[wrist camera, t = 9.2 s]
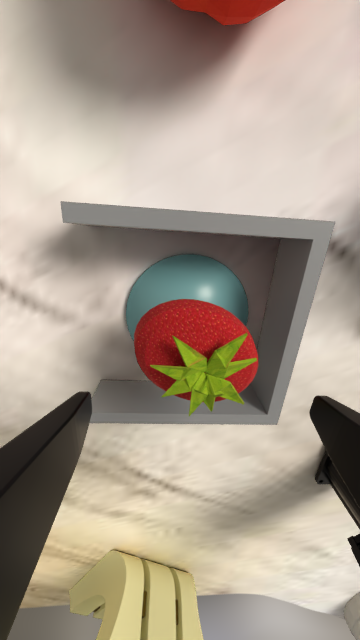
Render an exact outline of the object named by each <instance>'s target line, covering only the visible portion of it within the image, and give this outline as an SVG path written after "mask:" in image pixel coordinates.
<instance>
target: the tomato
mask: <svg viewBox="0 0 360 640" xmlns="http://www.w3.org/2000/svg"><path fill="white" fill-rule="evenodd" d="M170 1H171V2H173V3H174V4H175V5H177V6H178V7H179V8H181V9H183V10H190V11H197V12H205V13H206V14H208V15H209V16H211V17H212V18H214V19H215V20H216V21H218V22H219V23H221V24H222V25H232V24H244V23H248V22H249V21H251V20H253V19H255V18H256V17H258V16H260V15H262V14H263V13H265V12H267V11H269V10H270V9H272V8H274V7H275V6H277V5H278V4H280V3H282V2H283V1H285V0H170Z"/></svg>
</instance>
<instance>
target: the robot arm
mask: <svg viewBox="0 0 360 640" xmlns="http://www.w3.org/2000/svg"><path fill="white" fill-rule="evenodd" d="M91 415H92V401H91V394H90V392H78V393H76V394H75V395H73V396H72V397H71V398H69V399H68V400H66V401H65V402H64V403H62V404H61V405H60V406H58V407H57V408H55V409H54V410H53V411H51V412H50V413H48V414H47V415H46V416H44V417H43V418H42V419H40V420H39V421H37V422H36V423H35V424H33V425H32V426H30V427H29V428H28V429H26V430H25V431H24V432H22V433H21V434H19V435H18V436H17V437H15V438H14V439H13V440H11V441H10V442H8V443H7V444H6V445H4V446H3V447H1V448H0V640H7V637H8V635H9V632H10V630H11V627H12V625H13V622H14V620H15V617H16V615H17V612H18V609H19V607H20V605H21V602H22V600H23V597H24V595H25V592H26V590H27V587H28V585H29V582H30V580H31V577H32V575H33V572H34V570H35V567H36V565H37V562H38V560H39V557H40V555H41V552H42V550H43V547H44V545H45V542H46V540H47V537H48V535H49V532H50V530H51V527H52V525H53V522H54V520H55V517H56V515H57V512H58V510H59V507H60V505H61V502H62V500H63V497H64V495H65V492H66V490H67V487H68V485H69V482H70V480H71V477H72V475H73V472H74V470H75V467H76V465H77V462H78V459H79V457H80V454H81V450H82V447H83V444H84V440H85V436H86V433H87V429H88V426H89V422H90V419H91ZM310 417H311V420H312V422H313V424H314V426H315V428H316V430H317V432H318V434H319V436H320V439H321V441H322V443H323V445H324V447H325V449H326V452H325V455H324V457H323V460H322V462H321V464H320V467H319V469H318V472H317V474H316V477H315V480H316V482H317V484H330V485H331V486H332V488H333V489H334V491H335V492H336V494H337V495H338V497H339V498H340V500H341V501H342V503H343V505H344V506H345V508H346V509H347V511H348V512H349V514H350V515H351V517H352V518H353V520H354V521H355V523H356V525H357V526H358V528H359V529H360V413H358V412H356V411H354V410H352V409H350V408H349V407H347V406H345V405H343V404H341V403H339V402H337V401H335V400H334V399H332V398H330V397H328V396H316V397H315V398H314V400H313V403H312V406H311V409H310ZM348 541H349V543H350V545H351V549H352V552H353V554H354V556H355V558H356V560H357V562H358V564H359V566H360V534H358V535H356V536H354V537H353V536H351V537H349V538H348Z"/></svg>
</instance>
